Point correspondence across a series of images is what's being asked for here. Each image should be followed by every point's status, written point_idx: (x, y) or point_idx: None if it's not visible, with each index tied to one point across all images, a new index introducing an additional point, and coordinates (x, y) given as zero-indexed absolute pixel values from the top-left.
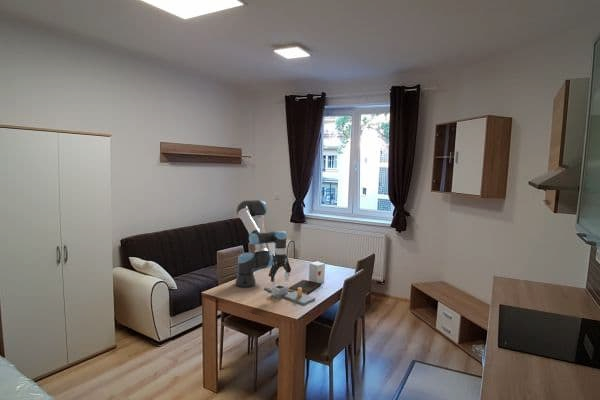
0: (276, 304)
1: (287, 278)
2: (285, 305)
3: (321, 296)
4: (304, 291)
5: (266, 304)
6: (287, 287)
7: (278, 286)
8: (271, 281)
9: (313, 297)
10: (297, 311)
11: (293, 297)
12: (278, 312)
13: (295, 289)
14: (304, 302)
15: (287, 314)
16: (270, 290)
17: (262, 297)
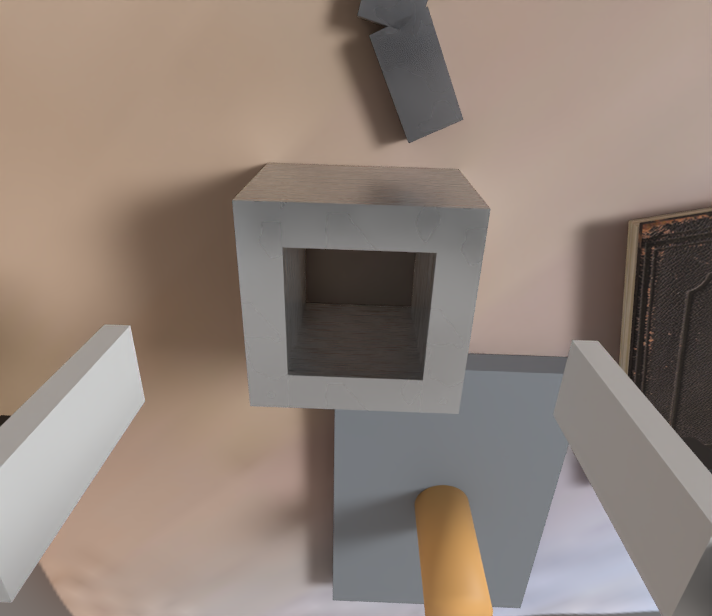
0: None
1: (585, 461)
2: (188, 482)
3: (643, 581)
4: None
5: (15, 333)
6: (447, 410)
7: (399, 245)
8: (47, 381)
9: (520, 594)
10: (188, 602)
11: (374, 474)
12: None
13: (647, 346)
14: (345, 598)
15: (76, 584)
16: (377, 15)
17: (96, 112)
